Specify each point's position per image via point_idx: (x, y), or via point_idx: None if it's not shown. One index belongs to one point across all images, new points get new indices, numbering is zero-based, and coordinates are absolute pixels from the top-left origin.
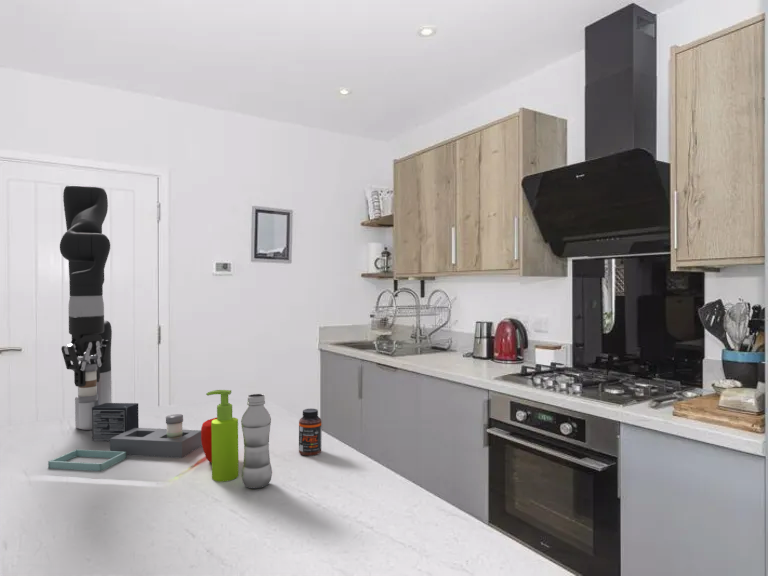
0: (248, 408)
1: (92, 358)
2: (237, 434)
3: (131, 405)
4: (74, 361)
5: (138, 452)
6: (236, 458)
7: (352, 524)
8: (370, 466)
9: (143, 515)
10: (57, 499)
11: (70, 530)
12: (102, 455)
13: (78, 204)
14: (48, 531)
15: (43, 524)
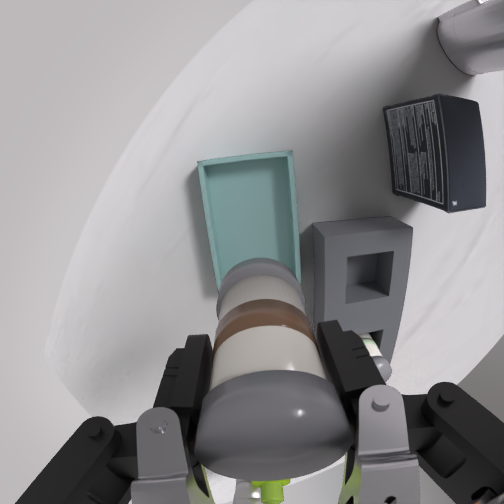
0: None
1: (347, 484)
2: None
3: (467, 208)
4: (100, 495)
5: (317, 294)
6: None
7: (209, 482)
8: (316, 472)
9: (146, 403)
10: (120, 294)
11: (90, 364)
12: (291, 226)
13: None
14: (78, 347)
15: (80, 332)
